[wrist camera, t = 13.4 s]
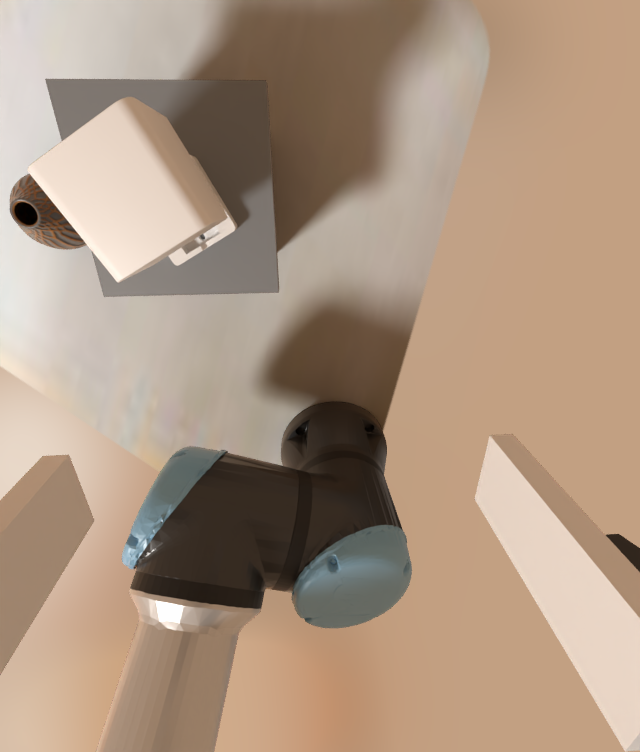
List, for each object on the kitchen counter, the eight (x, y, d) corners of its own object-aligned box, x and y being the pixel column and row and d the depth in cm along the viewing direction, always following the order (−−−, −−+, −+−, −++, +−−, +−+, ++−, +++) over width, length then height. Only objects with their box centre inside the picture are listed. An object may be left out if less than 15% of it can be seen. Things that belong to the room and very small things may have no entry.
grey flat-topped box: (282, 264, 43) (278, 292, 30) (158, 267, 42) (104, 296, 30) (275, 118, 36) (266, 80, 24) (129, 118, 36) (45, 78, 23)
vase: (117, 248, 41) (75, 260, 33) (50, 240, 40) (-9, 251, 32) (109, 177, 38) (61, 173, 30) (37, 167, 37) (-32, 160, 29)
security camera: (185, 128, 25) (126, 91, 16) (243, 224, 28) (220, 239, 19) (112, 178, 26) (19, 170, 17) (176, 266, 29) (124, 299, 20)
